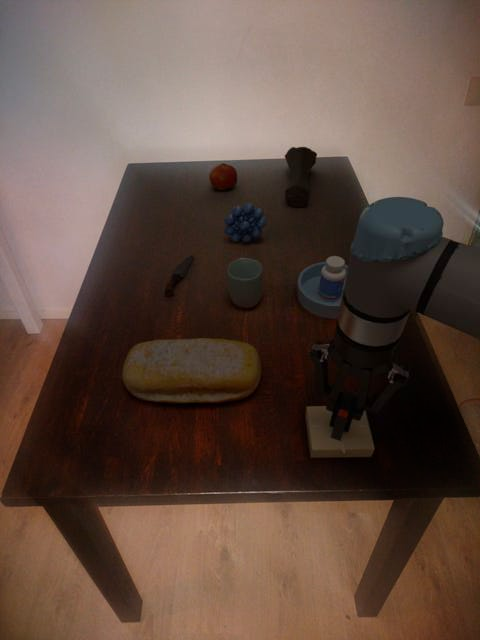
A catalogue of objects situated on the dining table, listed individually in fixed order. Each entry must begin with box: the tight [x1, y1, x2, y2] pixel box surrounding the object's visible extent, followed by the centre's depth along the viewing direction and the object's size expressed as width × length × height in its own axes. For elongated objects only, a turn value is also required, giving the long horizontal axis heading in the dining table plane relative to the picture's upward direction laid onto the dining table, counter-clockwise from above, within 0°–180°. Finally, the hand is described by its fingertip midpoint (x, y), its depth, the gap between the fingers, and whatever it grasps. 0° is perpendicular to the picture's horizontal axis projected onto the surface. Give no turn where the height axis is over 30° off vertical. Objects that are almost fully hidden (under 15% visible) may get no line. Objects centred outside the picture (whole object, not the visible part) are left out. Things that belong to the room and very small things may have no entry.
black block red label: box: [331, 389, 355, 441], centre depth 61 cm, size 5×2×7 cm, turn 156°
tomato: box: [209, 162, 238, 191], centre depth 127 cm, size 9×9×8 cm
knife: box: [163, 255, 194, 298], centre depth 98 cm, size 17×2×5 cm
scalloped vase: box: [284, 146, 318, 208], centre depth 125 cm, size 11×10×28 cm
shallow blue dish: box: [296, 261, 349, 320], centre depth 89 cm, size 15×16×4 cm
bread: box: [121, 337, 262, 405], centre depth 73 cm, size 13×26×8 cm, turn 90°
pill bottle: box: [318, 255, 346, 302], centre depth 87 cm, size 6×5×10 cm
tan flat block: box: [304, 405, 375, 459], centre depth 65 cm, size 10×9×3 cm
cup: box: [226, 257, 264, 309], centre depth 87 cm, size 8×8×10 cm
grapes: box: [224, 202, 268, 244], centre depth 104 cm, size 12×7×12 cm, turn 84°
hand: (340, 422), depth 63 cm, fingers closed on black block red label, 2 cm apart
